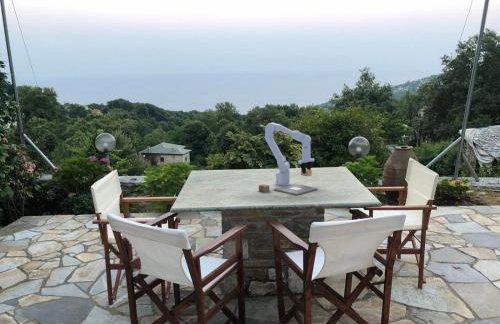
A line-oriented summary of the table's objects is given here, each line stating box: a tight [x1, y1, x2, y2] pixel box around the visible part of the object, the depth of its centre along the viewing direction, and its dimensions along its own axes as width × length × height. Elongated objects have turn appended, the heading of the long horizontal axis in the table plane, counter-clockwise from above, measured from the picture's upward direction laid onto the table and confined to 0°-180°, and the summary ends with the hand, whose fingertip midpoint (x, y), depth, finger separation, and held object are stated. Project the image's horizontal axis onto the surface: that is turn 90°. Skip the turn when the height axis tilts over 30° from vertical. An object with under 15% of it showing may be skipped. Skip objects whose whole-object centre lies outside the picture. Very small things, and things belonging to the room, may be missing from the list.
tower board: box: [273, 183, 318, 196], centre depth 257 cm, size 20×20×1 cm
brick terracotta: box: [300, 168, 313, 177], centre depth 268 cm, size 6×4×4 cm, turn 41°
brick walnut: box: [258, 183, 270, 193], centre depth 256 cm, size 6×4×4 cm, turn 41°
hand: (306, 173), depth 268 cm, fingers closed on brick terracotta, 4 cm apart
